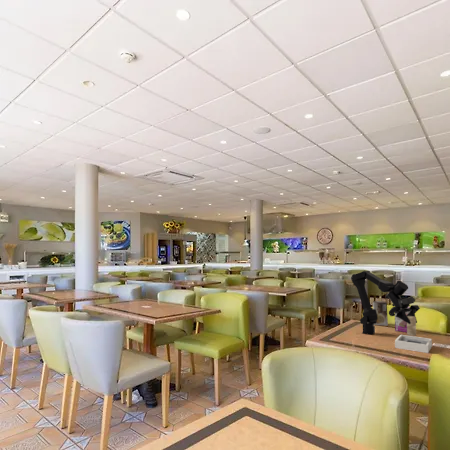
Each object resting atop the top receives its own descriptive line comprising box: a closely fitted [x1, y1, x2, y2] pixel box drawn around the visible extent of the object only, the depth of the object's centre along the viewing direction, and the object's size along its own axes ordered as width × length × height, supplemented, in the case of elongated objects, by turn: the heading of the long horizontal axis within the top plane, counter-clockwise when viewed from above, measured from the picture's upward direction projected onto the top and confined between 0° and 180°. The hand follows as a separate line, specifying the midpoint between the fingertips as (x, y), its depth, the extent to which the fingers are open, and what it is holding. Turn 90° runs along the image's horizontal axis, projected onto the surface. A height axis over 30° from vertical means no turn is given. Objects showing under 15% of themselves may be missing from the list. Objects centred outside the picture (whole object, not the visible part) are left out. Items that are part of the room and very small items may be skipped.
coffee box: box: [372, 300, 389, 327], centre depth 252 cm, size 9×6×16 cm
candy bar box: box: [394, 306, 410, 333], centre depth 230 cm, size 11×5×16 cm, turn 58°
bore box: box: [394, 334, 433, 354], centre depth 195 cm, size 16×16×4 cm
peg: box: [406, 315, 417, 337], centre depth 195 cm, size 4×4×10 cm
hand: (413, 323), depth 194 cm, fingers closed on peg, 4 cm apart
